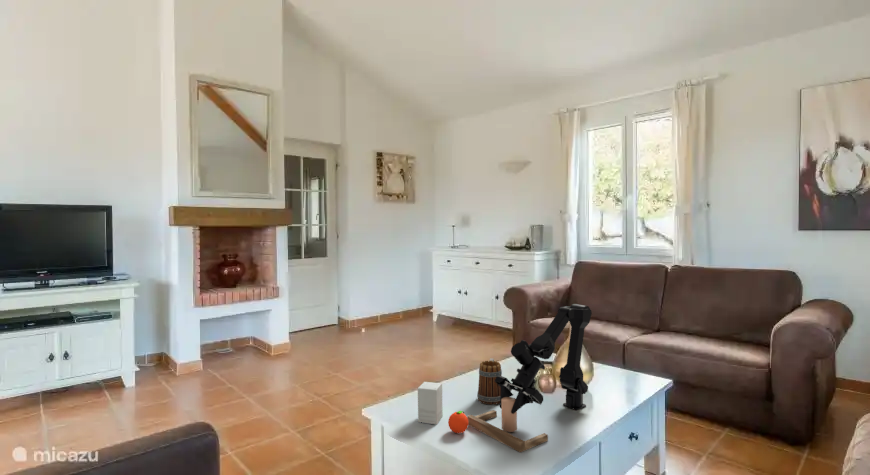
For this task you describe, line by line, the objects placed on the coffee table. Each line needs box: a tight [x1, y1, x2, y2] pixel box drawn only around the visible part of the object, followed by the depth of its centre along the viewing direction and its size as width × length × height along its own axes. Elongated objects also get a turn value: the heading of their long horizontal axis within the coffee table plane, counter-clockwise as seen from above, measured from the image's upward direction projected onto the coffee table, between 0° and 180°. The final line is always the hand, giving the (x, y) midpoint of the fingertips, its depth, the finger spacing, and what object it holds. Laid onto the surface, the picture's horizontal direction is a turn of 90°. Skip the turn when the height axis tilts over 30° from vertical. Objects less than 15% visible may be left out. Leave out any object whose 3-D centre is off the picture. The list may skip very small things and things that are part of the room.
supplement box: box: [417, 381, 444, 425], centre depth 170 cm, size 7×7×13 cm
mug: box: [477, 357, 503, 406], centre depth 191 cm, size 16×11×15 cm
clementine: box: [448, 410, 469, 434], centre depth 160 cm, size 8×7×7 cm
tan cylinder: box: [500, 396, 518, 433], centre depth 161 cm, size 5×5×10 cm
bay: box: [466, 409, 549, 453], centre depth 160 cm, size 13×26×3 cm, turn 36°
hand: (506, 410), depth 160 cm, fingers closed on tan cylinder, 5 cm apart
